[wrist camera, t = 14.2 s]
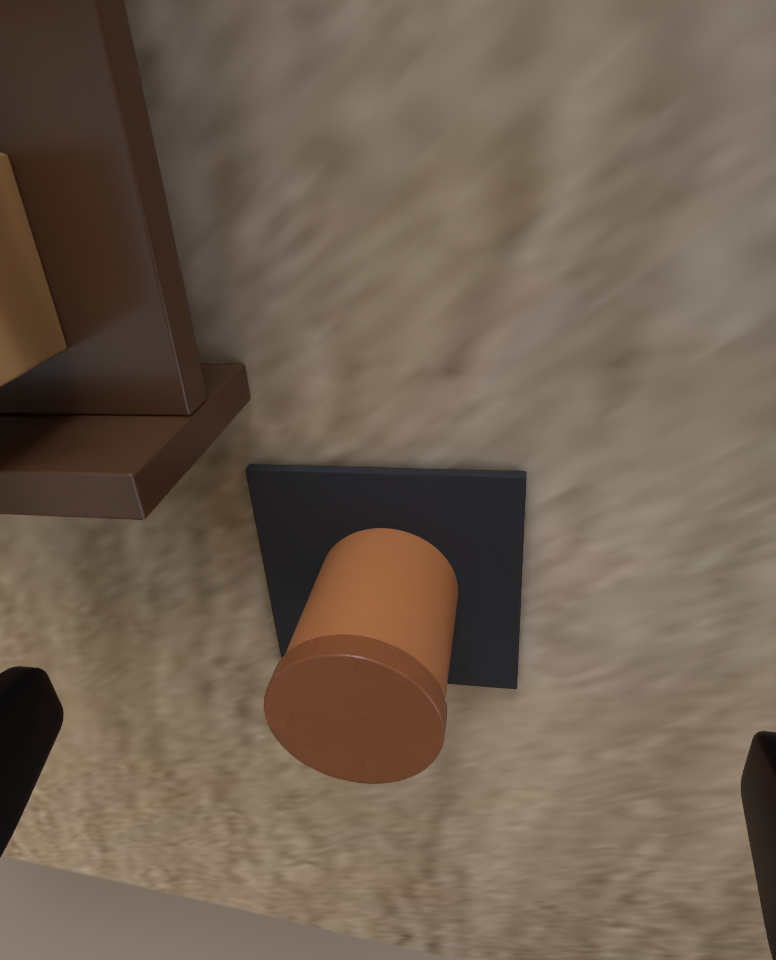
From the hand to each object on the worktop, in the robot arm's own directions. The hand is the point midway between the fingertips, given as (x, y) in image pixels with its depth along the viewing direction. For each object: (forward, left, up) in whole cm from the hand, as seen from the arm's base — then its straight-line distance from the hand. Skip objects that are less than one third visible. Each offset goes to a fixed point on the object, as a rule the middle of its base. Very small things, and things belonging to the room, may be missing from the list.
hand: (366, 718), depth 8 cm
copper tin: (+2, +8, -12) cm, 15 cm away
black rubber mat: (+2, +8, -13) cm, 15 cm away
